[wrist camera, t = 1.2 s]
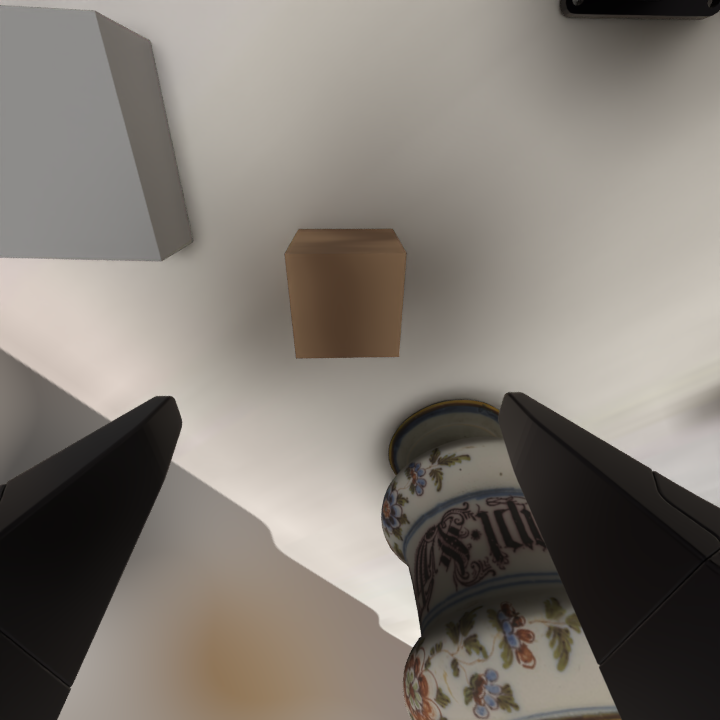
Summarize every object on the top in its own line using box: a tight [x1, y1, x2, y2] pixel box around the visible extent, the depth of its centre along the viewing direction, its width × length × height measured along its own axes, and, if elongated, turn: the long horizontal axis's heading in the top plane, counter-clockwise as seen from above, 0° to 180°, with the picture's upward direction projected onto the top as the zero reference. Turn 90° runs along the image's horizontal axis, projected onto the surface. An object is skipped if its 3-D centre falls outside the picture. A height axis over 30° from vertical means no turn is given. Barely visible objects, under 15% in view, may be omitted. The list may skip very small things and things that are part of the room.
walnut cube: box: [285, 229, 407, 358], centre depth 18 cm, size 5×5×5 cm
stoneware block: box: [0, 5, 193, 261], centre depth 15 cm, size 8×8×4 cm
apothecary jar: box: [381, 400, 621, 720], centre depth 20 cm, size 12×12×18 cm
